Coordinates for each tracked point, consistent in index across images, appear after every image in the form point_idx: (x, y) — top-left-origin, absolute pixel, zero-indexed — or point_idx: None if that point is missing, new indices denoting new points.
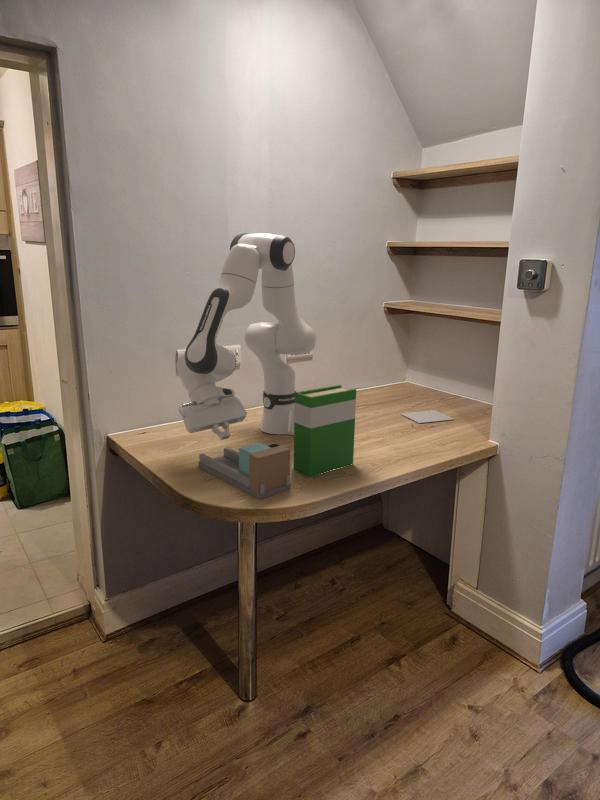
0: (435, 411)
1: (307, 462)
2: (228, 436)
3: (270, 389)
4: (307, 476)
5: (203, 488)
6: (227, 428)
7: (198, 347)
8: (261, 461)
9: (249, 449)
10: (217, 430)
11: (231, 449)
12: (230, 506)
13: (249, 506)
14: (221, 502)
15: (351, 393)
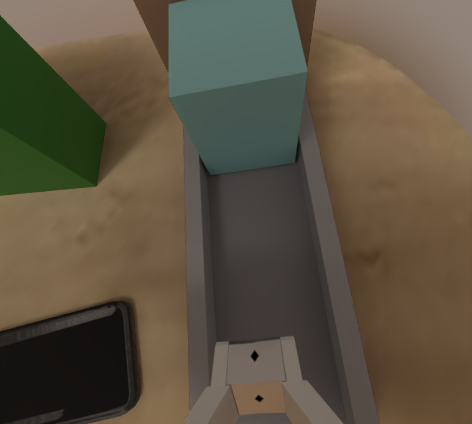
0: None
1: (73, 101)
2: (238, 341)
3: None
4: (104, 128)
5: (420, 199)
6: (209, 409)
7: None
8: None
9: (271, 33)
10: (332, 413)
11: (191, 408)
12: (383, 62)
13: (337, 47)
14: (398, 90)
15: None
